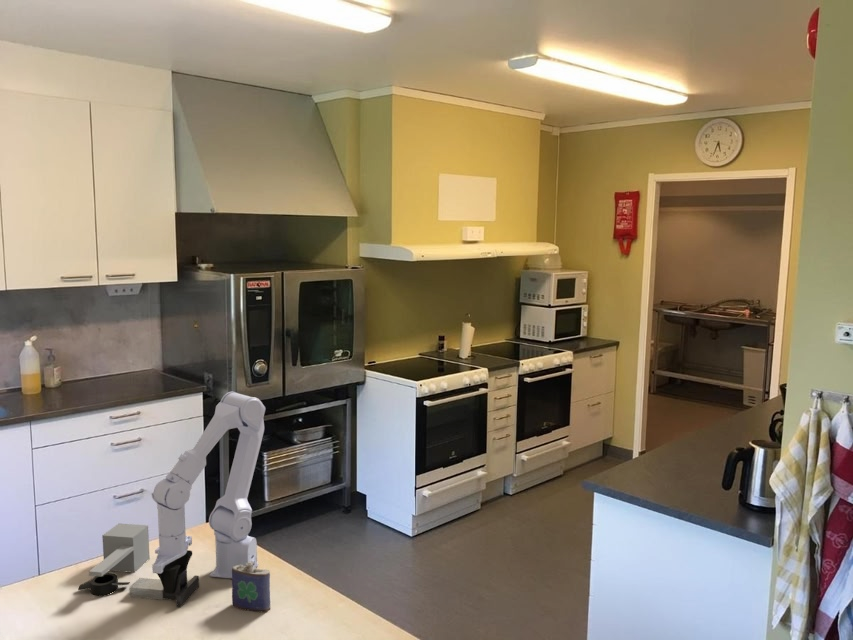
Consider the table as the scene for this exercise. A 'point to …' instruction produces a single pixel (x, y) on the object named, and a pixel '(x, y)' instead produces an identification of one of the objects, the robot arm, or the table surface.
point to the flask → (250, 588)
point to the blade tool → (156, 590)
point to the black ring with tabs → (102, 584)
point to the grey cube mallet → (123, 549)
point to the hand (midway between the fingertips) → (174, 587)
